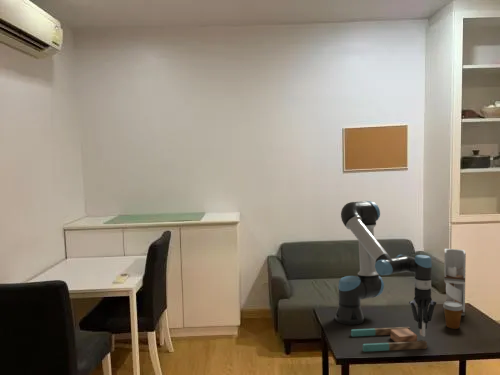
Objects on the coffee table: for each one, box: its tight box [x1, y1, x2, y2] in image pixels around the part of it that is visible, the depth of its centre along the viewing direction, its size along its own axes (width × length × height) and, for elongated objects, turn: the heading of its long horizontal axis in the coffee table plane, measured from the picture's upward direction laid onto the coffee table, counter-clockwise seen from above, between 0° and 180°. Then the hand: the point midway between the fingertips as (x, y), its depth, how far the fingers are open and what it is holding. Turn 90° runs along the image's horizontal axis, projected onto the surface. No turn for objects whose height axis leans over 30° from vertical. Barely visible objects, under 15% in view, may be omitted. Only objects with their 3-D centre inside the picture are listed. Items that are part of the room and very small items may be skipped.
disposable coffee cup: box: [442, 301, 463, 330], centre depth 231 cm, size 10×10×12 cm
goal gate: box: [350, 327, 390, 353], centre depth 213 cm, size 12×19×3 cm, turn 5°
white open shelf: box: [443, 248, 467, 316], centre depth 253 cm, size 11×11×35 cm
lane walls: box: [374, 326, 428, 351], centre depth 214 cm, size 18×19×3 cm
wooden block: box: [390, 328, 418, 342], centre depth 214 cm, size 9×9×4 cm
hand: (422, 335), depth 215 cm, fingers closed
